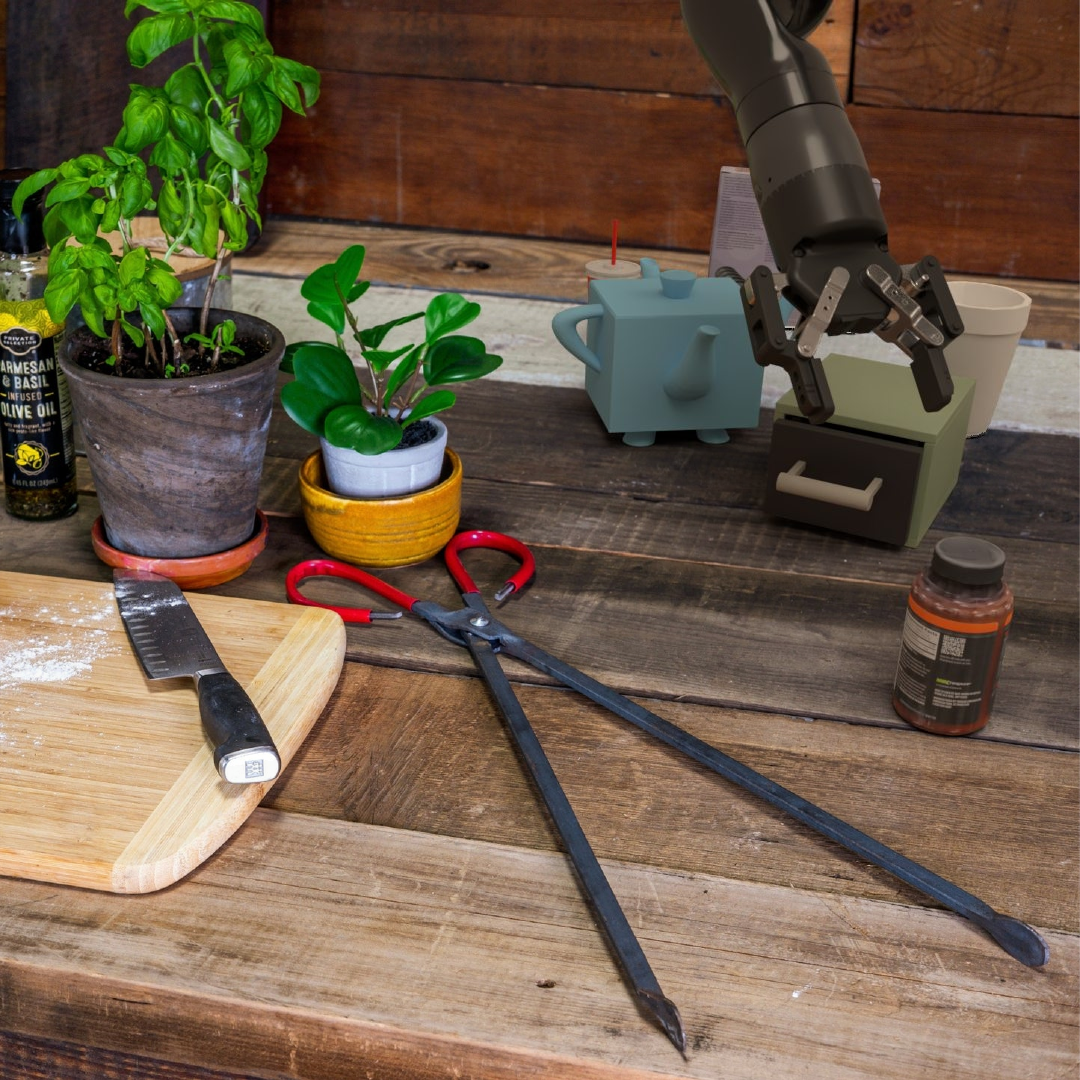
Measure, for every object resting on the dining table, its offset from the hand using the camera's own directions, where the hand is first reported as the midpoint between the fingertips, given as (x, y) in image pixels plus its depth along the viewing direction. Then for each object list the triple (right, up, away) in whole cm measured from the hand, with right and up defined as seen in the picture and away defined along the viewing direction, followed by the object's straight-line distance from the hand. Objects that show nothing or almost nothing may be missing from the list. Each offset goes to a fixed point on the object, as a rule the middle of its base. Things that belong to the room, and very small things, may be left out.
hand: (882, 413), depth 80 cm
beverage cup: (-14, +14, +61) cm, 64 cm away
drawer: (+3, -5, +22) cm, 23 cm away
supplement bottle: (+3, -19, -2) cm, 19 cm away
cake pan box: (+7, +18, +71) cm, 73 cm away
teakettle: (-9, +3, +41) cm, 42 cm away
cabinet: (+6, -4, +27) cm, 27 cm away
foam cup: (+18, +3, +42) cm, 46 cm away
